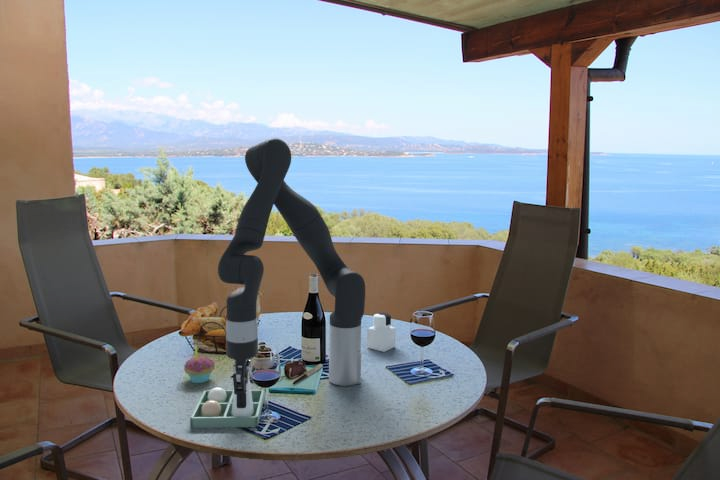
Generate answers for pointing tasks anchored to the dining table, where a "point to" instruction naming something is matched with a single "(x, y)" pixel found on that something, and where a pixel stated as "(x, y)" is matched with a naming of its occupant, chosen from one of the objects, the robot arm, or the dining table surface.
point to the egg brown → (211, 409)
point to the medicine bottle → (381, 333)
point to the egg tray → (228, 413)
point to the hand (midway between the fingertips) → (242, 403)
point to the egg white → (217, 395)
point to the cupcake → (199, 368)
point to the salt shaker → (249, 403)
